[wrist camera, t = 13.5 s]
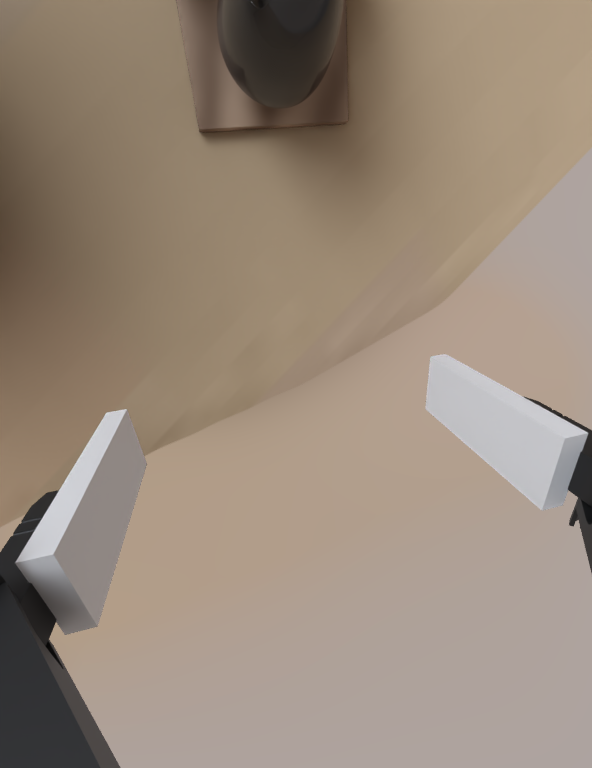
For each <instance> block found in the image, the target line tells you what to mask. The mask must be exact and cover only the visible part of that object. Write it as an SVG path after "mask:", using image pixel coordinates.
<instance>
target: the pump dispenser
mask: <svg viewBox="0 0 592 768" xmlns="http://www.w3.org/2000/svg"><path fill="white" fill-rule="evenodd" d="M343 2H344V0H218V3H217V34H218V41H219V46H220V50H221V53H222V56H223V59H224V62H225V64H226V67H227V69H228V71H229V73H230V74H231V76H232V78H233V79H234V81H235V82H236V84H237V85H238V86H239V87H240V88H241V90H242V91H243V92H244V93H245V94H247V95H248V96H249V97H250V98H251V99H253V100H254V101H256V102H258V103H260V104H262V105H264V106H267V107H271V108H278V109H282V108H289V107H293V106H295V105H298V104H300V103H301V102H303V101H304V100H306V99H307V98H308V97H309V96H310V95H311V94H312V93H313V92H314V91H315V90H316V88H317V87H318V86H319V84H320V83H321V81H322V79H323V78H324V76H325V74H326V72H327V69H328V67H329V65H330V62H331V59H332V56H333V53H334V50H335V47H336V43H337V40H338V36H339V31H340V26H341V20H342V13H343Z"/></svg>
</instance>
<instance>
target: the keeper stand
mask: <svg viewBox="0 0 592 768" xmlns="http://www.w3.org/2000/svg"><path fill="white" fill-rule="evenodd" d="M176 2H177V8H178V13H179V19H180V25H181V30H182V36H183V41H184V47H185V53H186V58H187V64H188V70H189V75H190V81H191V87H192V92H193V98H194V104H195V109H196V115H197V121H198V126H199V132H214V131H231V130H248V129H265V128H283V127H300V126H317V125H334V124H345V123H346V122H347V121H348V76H347V19H346V0H344V2H343V13H342V20H341V26H340V31H339V36H338V40H337V43H336V47H335V50H334V53H333V56H332V59H331V62H330V65H329V67H328V69H327V72H326V74H325V76H324V78H323V79H322V81H321V83H320V84H319V86H318V87H317V88H316V90H315V91H314V92H313V93H312V94H311V95H310V96H309V97H308V98H307V99H306V100H304V101H303V102H301V103H300V104H298V105H295V106H293V107H289V108H282V109H278V108H271V107H267V106H264V105H262V104H260V103H258V102H256V101H254V100H253V99H251V98H250V97H249V96H248V95H247V94H245V93H244V92H243V91H242V90H241V88H240V87H239V86H238V85H237V84H236V82H235V81H234V79H233V78H232V76H231V74H230V73H229V71H228V69H227V67H226V64H225V62H224V59H223V56H222V53H221V50H220V46H219V41H218V34H217V3H218V0H176Z"/></svg>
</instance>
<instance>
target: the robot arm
mask: <svg viewBox="0 0 592 768" xmlns="http://www.w3.org/2000/svg"><path fill="white" fill-rule="evenodd" d="M426 410H427V411H428V412H430V413H431V414H432V415H433V416H434V417H435V418H436V419H438V420H439V421H440V422H441V423H442V424H443V425H444V426H446V427H447V428H448V429H449V430H450V431H451V432H453V433H454V434H455V435H456V436H457V437H458V438H459V439H460V440H462V441H463V442H464V443H465V444H466V445H467V446H468V447H470V448H471V449H472V450H473V451H474V452H475V453H476V454H478V455H479V456H480V457H481V458H482V459H483V460H484V461H486V462H487V463H488V464H489V465H490V466H491V467H493V468H494V469H495V470H496V471H497V472H498V473H499V474H501V475H502V476H503V477H504V478H505V479H506V480H507V481H509V482H510V483H511V484H512V485H513V486H514V487H516V488H517V489H518V490H519V491H520V492H521V493H523V495H525V496H526V497H527V498H528V499H529V500H530V501H531V502H533V503H534V504H535V505H536V506H537V507H538V508H539V509H541V510H546V509H550V508H554V507H558V506H562V505H563V503H564V500H565V498H566V495H567V492H568V490H569V491H570V492H572V493H573V494H575V495H576V496H577V497H578V500H577V502H576V505H575V508H574V510H573V513H572V515H571V518H570V522H569V525H570V526H574V524H575V521H577V520H579V523H580V528H581V531H582V536H583V539H584V544H585V548H586V552H587V556H588V560H589V564H590V568H591V572H592V430H590V429H588V428H586V427H584V426H583V425H581V424H579V423H577V422H575V421H574V420H572V419H570V418H568V417H566V416H563V415H562V414H561V413H559V412H557V411H555V410H552V409H551V408H549V407H548V406H546V405H544V404H542V403H540V402H538V401H535V400H532V399H529V398H526V397H523V396H521V395H519V394H517V393H515V392H513V391H511V390H510V389H508V388H506V387H504V386H503V385H501V384H499V383H497V382H495V381H494V380H492V379H490V378H488V377H486V376H485V375H483V374H481V373H479V372H477V371H476V370H474V369H472V368H470V367H468V366H466V365H465V364H463V363H461V362H459V361H457V360H456V359H454V358H452V357H450V356H448V355H447V354H443V355H437V356H432V357H430V366H429V377H428V388H427V399H426ZM146 465H147V463H146V460H145V457H144V455H143V452H142V449H141V446H140V443H139V441H138V438H137V435H136V432H135V430H134V427H133V424H132V421H131V419H130V416H129V413H128V410H127V409H124V410H119V411H113V412H107V413H106V414H105V416H104V418H103V419H102V421H101V423H100V424H99V426H98V427H97V429H96V431H95V432H94V434H93V436H92V437H91V439H90V441H89V442H88V444H87V446H86V447H85V449H84V450H83V452H82V454H81V455H80V457H79V459H78V460H77V462H76V464H75V465H74V467H73V469H72V470H71V472H70V473H69V475H68V477H67V478H66V480H65V482H64V483H63V485H62V487H61V488H60V490H58V491H53V492H48V493H46V494H45V495H44V496H43V497H41V498H40V499H39V500H38V501H37V502H36V503H35V504H34V505H32V506H31V508H30V509H29V511H28V512H27V514H26V515H25V517H24V518H23V520H22V523H21V524H19V525H18V527H17V528H16V530H15V532H14V535H13V536H11V537H10V539H9V540H8V542H7V543H6V545H5V546H4V548H3V549H2V551H1V552H0V768H120V766H119V765H118V762H117V761H116V759H115V757H114V755H113V753H112V751H111V750H110V748H109V746H108V744H107V742H106V741H105V739H104V737H103V735H102V733H101V731H100V730H99V728H98V726H97V724H96V722H95V721H94V719H93V717H92V715H91V713H90V711H89V710H88V708H87V706H86V704H85V702H84V700H83V699H82V697H81V695H80V693H79V691H78V690H77V688H76V686H75V684H74V682H73V680H72V679H71V677H70V675H69V673H68V671H67V669H66V668H65V666H64V664H63V662H62V660H61V659H60V657H59V655H58V653H57V651H56V650H55V648H54V646H53V644H52V643H51V642H50V640H49V637H50V635H51V632H52V630H53V628H54V625H55V623H56V622H57V623H58V625H59V627H60V628H61V629H62V631H63V632H64V634H65V635H67V634H70V633H74V632H78V631H82V630H86V629H90V628H93V627H97V626H98V623H99V620H100V617H101V613H102V610H103V607H104V603H105V600H106V597H107V593H108V590H109V586H110V584H111V580H112V577H113V574H114V570H115V567H116V564H117V561H118V557H119V554H120V551H121V548H122V544H123V541H124V538H125V534H126V531H127V528H128V524H129V521H130V518H131V515H132V511H133V508H134V505H135V502H136V498H137V495H138V492H139V488H140V485H141V482H142V478H143V475H144V472H145V468H146Z"/></svg>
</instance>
